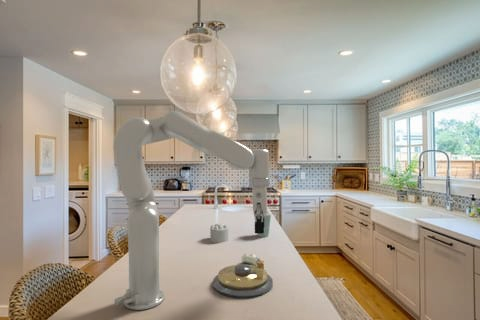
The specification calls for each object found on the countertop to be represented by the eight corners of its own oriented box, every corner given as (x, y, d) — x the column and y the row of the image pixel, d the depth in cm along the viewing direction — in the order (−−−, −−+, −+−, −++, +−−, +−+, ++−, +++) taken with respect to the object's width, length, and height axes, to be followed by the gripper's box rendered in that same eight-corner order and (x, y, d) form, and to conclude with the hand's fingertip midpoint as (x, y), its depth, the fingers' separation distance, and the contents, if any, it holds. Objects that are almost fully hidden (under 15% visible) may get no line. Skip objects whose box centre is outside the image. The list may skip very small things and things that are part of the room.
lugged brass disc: (214, 289, 100) (213, 273, 100) (222, 270, 118) (222, 256, 118) (266, 291, 98) (266, 275, 98) (267, 271, 116) (267, 257, 116)
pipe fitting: (250, 260, 135) (241, 263, 130) (250, 252, 136) (241, 254, 131) (264, 264, 130) (255, 267, 125) (265, 255, 131) (256, 258, 125)
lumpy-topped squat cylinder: (228, 236, 176) (228, 222, 176) (227, 242, 163) (227, 227, 163) (211, 237, 176) (211, 222, 176) (209, 243, 163) (209, 227, 163)
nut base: (250, 304, 93) (250, 294, 93) (200, 287, 106) (200, 278, 106) (283, 281, 110) (283, 272, 110) (236, 268, 123) (236, 261, 123)
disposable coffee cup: (272, 237, 173) (271, 212, 173) (254, 238, 173) (253, 212, 173) (270, 233, 183) (270, 209, 183) (253, 233, 183) (253, 209, 183)
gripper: (269, 184, 98) (269, 236, 98) (269, 181, 116) (270, 225, 116) (247, 184, 99) (247, 236, 99) (250, 181, 117) (251, 225, 117)
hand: (259, 230), depth 107 cm, fingers open, 7 cm apart
